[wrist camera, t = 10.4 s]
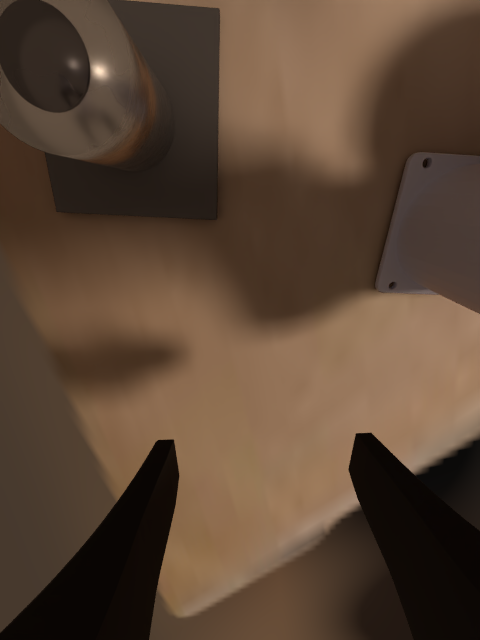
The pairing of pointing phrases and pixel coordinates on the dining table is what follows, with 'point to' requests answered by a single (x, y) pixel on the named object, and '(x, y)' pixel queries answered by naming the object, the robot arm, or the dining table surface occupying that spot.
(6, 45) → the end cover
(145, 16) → the rubber mat
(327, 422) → the dining table surface
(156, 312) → the dining table surface
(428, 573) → the robot arm
